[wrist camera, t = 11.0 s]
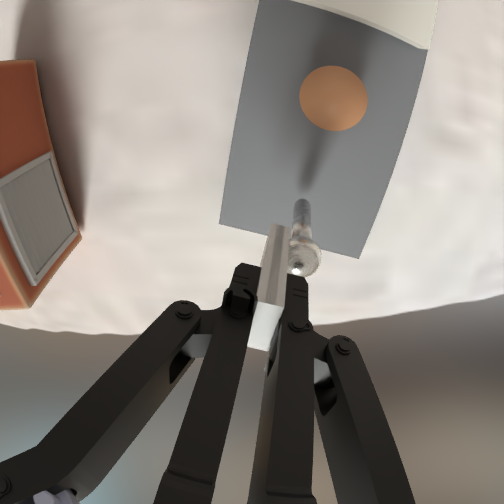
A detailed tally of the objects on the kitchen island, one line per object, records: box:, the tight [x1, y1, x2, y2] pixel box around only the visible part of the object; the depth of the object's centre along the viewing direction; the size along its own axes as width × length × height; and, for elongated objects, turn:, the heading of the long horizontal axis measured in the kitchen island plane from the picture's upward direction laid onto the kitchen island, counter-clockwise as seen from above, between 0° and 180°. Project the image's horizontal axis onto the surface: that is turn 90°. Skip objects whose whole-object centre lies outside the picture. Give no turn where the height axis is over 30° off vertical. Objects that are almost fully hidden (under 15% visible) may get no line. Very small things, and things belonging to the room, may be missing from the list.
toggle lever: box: [287, 198, 322, 278], centre depth 19 cm, size 2×2×8 cm
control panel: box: [0, 59, 82, 310], centre depth 21 cm, size 21×7×15 cm, turn 7°
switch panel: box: [219, 0, 428, 259], centre depth 19 cm, size 24×12×4 cm, turn 170°
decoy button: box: [299, 66, 368, 131], centre depth 17 cm, size 4×4×2 cm
